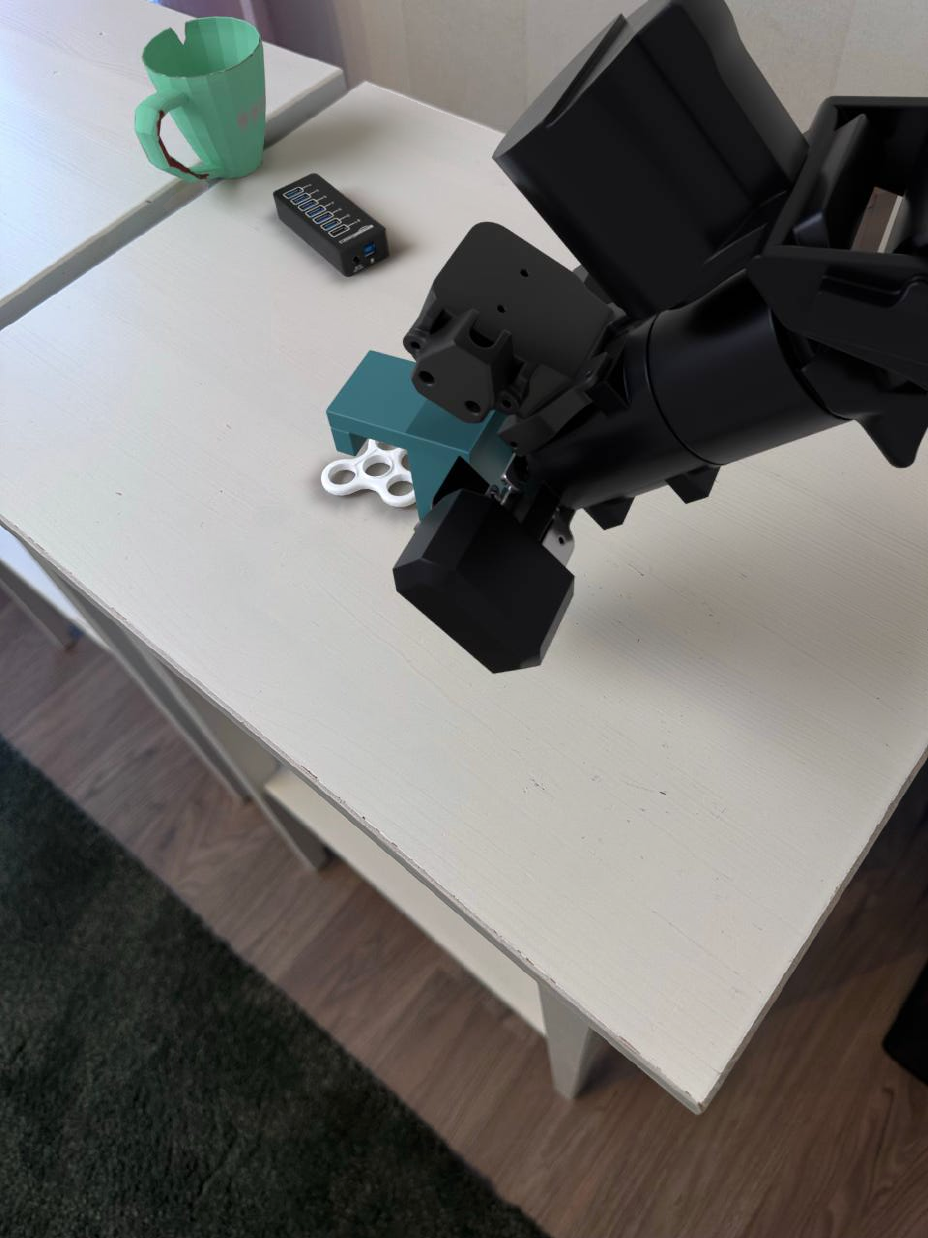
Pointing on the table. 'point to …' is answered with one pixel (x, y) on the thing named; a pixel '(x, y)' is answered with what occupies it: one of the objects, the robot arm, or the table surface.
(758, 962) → the table surface
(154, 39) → the mug
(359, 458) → the fidget spinner
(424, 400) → the teal angular block
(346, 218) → the multiport hub
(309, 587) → the table surface
